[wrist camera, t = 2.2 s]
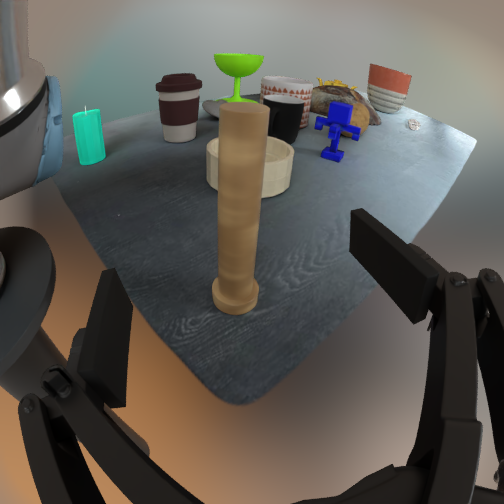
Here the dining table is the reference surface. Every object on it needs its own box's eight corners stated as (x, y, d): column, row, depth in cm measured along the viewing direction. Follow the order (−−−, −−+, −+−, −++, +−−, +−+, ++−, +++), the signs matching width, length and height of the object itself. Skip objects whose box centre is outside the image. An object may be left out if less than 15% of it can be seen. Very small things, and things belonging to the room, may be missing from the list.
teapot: (355, 104, 116) (358, 85, 110) (329, 101, 112) (333, 80, 106) (338, 96, 127) (340, 79, 120) (313, 94, 123) (316, 75, 116)
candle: (74, 164, 51) (65, 111, 44) (91, 153, 56) (84, 102, 48) (94, 166, 51) (85, 109, 43) (111, 154, 55) (105, 100, 47)
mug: (268, 131, 69) (272, 93, 62) (303, 139, 66) (309, 99, 60) (247, 145, 60) (250, 100, 54) (287, 154, 58) (293, 107, 51)
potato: (321, 134, 71) (326, 101, 65) (346, 127, 80) (351, 99, 74) (350, 145, 67) (357, 110, 61) (372, 137, 76) (378, 108, 70)
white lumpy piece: (406, 127, 96) (406, 125, 95) (409, 118, 115) (409, 116, 114) (420, 132, 94) (420, 131, 93) (420, 122, 113) (420, 121, 112)
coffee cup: (172, 149, 57) (170, 79, 47) (150, 138, 62) (147, 77, 52) (210, 138, 63) (211, 74, 53) (185, 129, 68) (185, 71, 58)
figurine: (355, 164, 58) (367, 111, 50) (325, 164, 56) (336, 107, 48) (337, 150, 63) (347, 101, 55) (308, 150, 61) (316, 97, 53)
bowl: (223, 208, 41) (223, 169, 37) (197, 169, 50) (196, 137, 46) (304, 194, 45) (311, 159, 41) (266, 160, 54) (269, 131, 51)
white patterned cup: (257, 114, 82) (261, 74, 73) (303, 118, 82) (308, 79, 74) (259, 127, 71) (263, 80, 63) (311, 132, 72) (318, 86, 64)
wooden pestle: (221, 320, 27) (223, 116, 15) (206, 287, 30) (201, 102, 18) (265, 307, 28) (292, 114, 16) (246, 276, 31) (261, 99, 19)
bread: (314, 98, 113) (317, 77, 106) (387, 120, 100) (392, 97, 93) (283, 105, 95) (285, 78, 89) (371, 130, 82) (377, 101, 76)
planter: (359, 107, 111) (367, 62, 97) (366, 103, 125) (373, 64, 111) (401, 121, 105) (411, 76, 91) (403, 115, 118) (411, 75, 104)
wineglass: (211, 109, 84) (212, 55, 72) (213, 100, 96) (214, 53, 84) (262, 111, 85) (267, 57, 74) (257, 101, 97) (261, 55, 86)
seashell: (196, 115, 78) (207, 119, 70) (198, 97, 75) (210, 98, 68) (232, 118, 83) (247, 122, 76) (235, 100, 80) (250, 102, 73)
